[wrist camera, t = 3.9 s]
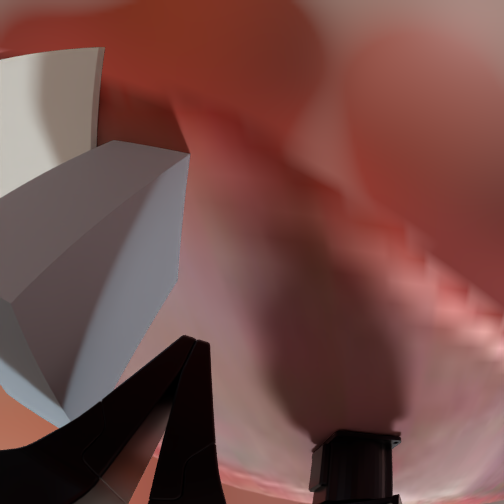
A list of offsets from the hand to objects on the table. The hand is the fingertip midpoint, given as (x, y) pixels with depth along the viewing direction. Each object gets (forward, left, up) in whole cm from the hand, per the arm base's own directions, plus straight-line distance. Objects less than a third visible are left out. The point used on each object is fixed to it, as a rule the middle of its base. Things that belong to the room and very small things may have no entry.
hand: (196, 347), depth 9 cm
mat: (+15, 0, -7) cm, 16 cm away
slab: (+5, 0, -7) cm, 8 cm away
